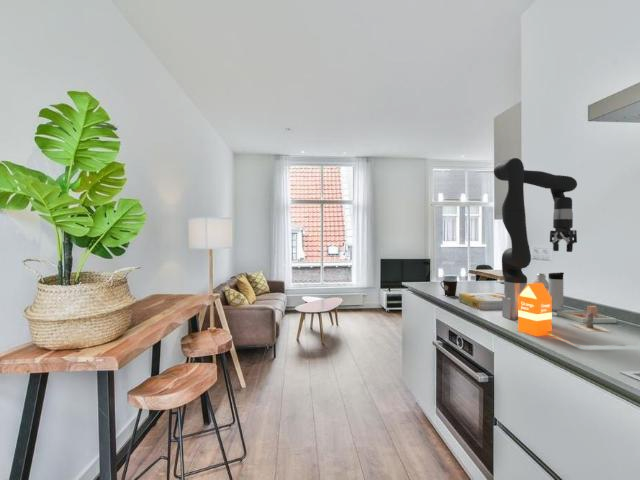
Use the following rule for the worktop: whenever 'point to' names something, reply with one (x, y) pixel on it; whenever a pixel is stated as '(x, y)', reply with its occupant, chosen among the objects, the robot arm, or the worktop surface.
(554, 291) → the travel mug
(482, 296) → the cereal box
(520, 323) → the orange juice
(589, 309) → the collar
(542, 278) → the plastic bottle
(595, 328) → the wooden peg stand
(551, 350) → the worktop surface
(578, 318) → the tray
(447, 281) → the coffee mug
